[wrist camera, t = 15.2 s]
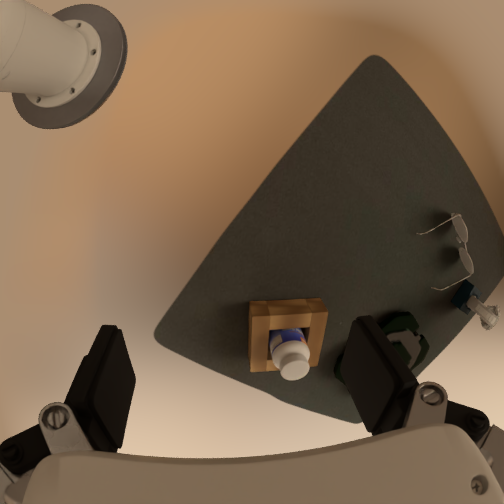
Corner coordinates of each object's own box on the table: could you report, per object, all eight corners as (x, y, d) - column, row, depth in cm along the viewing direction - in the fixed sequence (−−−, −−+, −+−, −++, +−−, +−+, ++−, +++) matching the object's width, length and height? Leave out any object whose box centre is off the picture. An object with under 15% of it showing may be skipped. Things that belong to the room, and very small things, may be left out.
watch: (462, 309, 51) (492, 337, 41) (447, 298, 49) (479, 329, 39) (476, 288, 49) (508, 314, 39) (462, 275, 47) (496, 303, 37)
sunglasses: (461, 264, 46) (474, 278, 42) (428, 285, 48) (439, 301, 44) (448, 204, 41) (464, 216, 36) (410, 227, 43) (423, 241, 39)
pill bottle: (305, 321, 46) (323, 361, 37) (287, 344, 48) (301, 387, 39) (277, 309, 45) (290, 351, 36) (259, 335, 46) (268, 378, 37)
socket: (248, 355, 48) (250, 372, 44) (249, 301, 43) (252, 316, 40) (311, 350, 49) (317, 366, 45) (320, 297, 45) (328, 311, 41)
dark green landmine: (401, 299, 47) (414, 313, 43) (427, 345, 53) (438, 357, 49) (323, 361, 50) (330, 378, 46) (363, 394, 57) (371, 409, 53)
